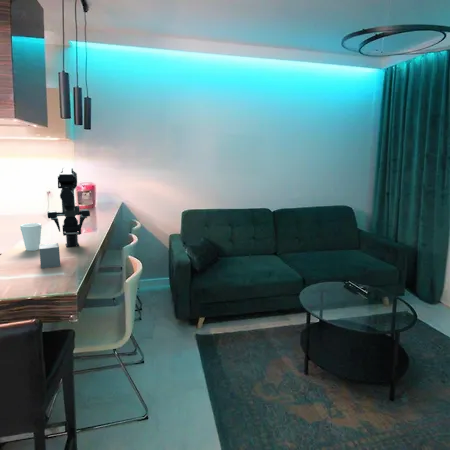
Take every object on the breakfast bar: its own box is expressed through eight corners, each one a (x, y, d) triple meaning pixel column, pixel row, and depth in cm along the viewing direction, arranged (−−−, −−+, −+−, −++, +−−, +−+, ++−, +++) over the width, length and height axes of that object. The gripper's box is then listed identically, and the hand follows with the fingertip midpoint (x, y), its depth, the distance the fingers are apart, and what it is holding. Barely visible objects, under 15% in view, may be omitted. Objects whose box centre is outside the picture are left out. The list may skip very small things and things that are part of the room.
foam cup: (47, 247, 182) (45, 223, 179) (33, 252, 173) (31, 227, 170) (32, 246, 184) (30, 222, 182) (18, 250, 175) (15, 225, 173)
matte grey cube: (40, 263, 156) (39, 244, 154) (59, 261, 159) (58, 243, 158) (40, 268, 149) (39, 248, 147) (60, 266, 153) (59, 247, 151)
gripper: (47, 202, 154) (49, 235, 158) (90, 200, 163) (92, 232, 166) (46, 199, 164) (48, 231, 167) (87, 198, 173) (89, 228, 176)
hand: (70, 230), depth 169 cm, fingers open, 9 cm apart
